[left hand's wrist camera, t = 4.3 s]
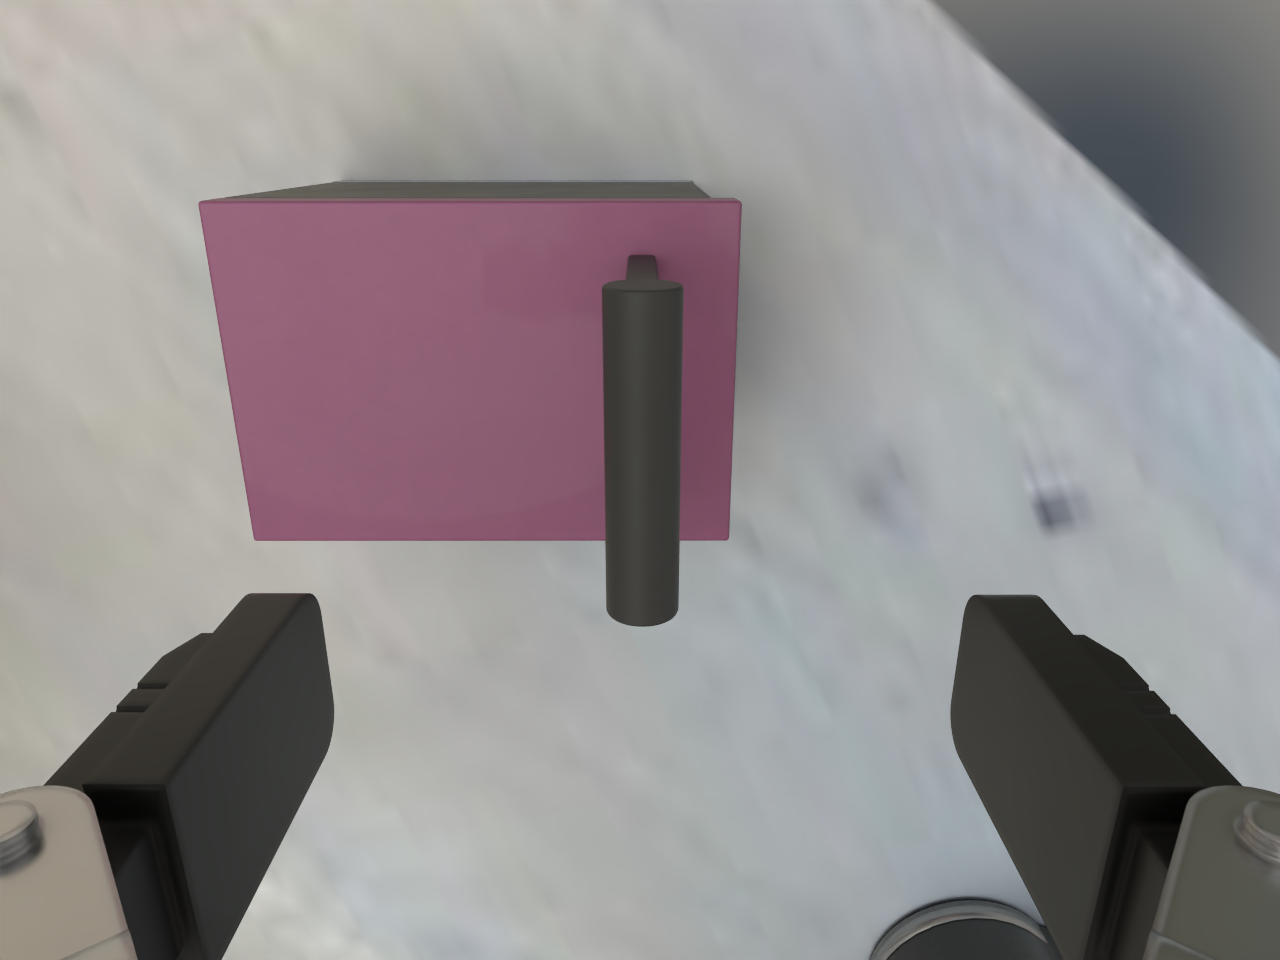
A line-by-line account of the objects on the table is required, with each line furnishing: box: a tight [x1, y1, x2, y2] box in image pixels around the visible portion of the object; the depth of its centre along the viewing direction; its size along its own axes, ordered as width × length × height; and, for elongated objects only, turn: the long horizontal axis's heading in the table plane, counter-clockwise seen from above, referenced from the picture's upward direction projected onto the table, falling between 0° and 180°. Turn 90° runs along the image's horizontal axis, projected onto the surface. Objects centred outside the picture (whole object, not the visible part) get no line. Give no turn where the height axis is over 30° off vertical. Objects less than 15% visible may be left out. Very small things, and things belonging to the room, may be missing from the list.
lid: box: [199, 198, 742, 627], centre depth 21 cm, size 13×9×8 cm
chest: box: [226, 181, 710, 198], centre depth 30 cm, size 13×9×10 cm
